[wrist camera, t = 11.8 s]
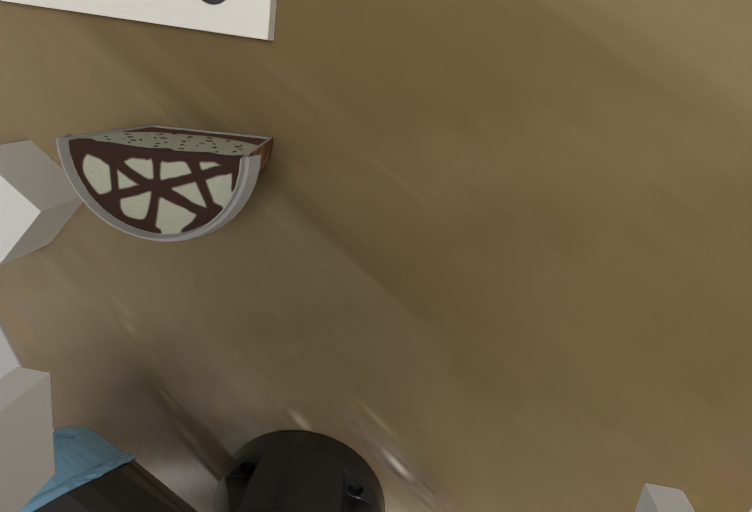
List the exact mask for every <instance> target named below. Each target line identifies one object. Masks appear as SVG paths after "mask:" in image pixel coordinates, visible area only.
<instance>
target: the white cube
mask: <svg viewBox="0 0 752 512" xmlns="http://www.w3.org/2000/svg"><path fill="white" fill-rule="evenodd" d="M82 203H83V201H82V199H81V198H80V197H79V196H78V195H77V193H76V191H75V190H74V188H73V187H72V185H71V184H70V182H69V180H68V178H67V176H66V173H65V171H64V170H63V169H62V168H61V167H59V166H58V165H57V164H56V163H55V162H54V161H53V160H52V159H51V158H50V157H48V156H47V155H46V154H45V153H44V152H43V151H42V150H41V149H40V148H38V147H37V146H36V145H35V144H34V143H33V142H32V141H31V140H26V141H20V142H14V143H9V144H3V145H0V266H1V265H3V264H6V263H8V262H10V261H12V260H15V259H17V258H19V257H21V256H23V255H26V254H28V253H30V252H32V251H35V250H37V249H39V248H41V247H44V246H46V245H48V244H50V243H51V241H52V240H53V239H54V238H55V237H56V235H57V234H58V233H59V232H60V230H61V229H62V228H63V227H64V225H65V224H66V223H67V222H68V221H69V219H70V218H71V217H72V216H73V214H74V213H75V212H76V211H77V209H78V208H79V207H80V206H81V204H82Z"/></svg>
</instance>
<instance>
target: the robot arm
mask: <svg viewBox="0 0 752 512" xmlns="http://www.w3.org/2000/svg"><path fill="white" fill-rule="evenodd" d="M135 459H136V457H135V456H134V455H133V454H125V453H124V452H123V451H121V450H120V449H118V448H117V447H116V446H114V445H113V444H111V443H110V442H109V441H107V440H106V439H105V438H103V437H102V436H100V435H99V434H98V433H96V432H95V431H93V430H91V429H90V428H87V427H83V426H69V427H64V428H61V429H59V430H56V431H54V432H53V424H52V404H51V384H50V373H48V372H42V371H37V370H31V369H26V368H21V367H16V368H15V369H14V370H12V371H11V372H10V373H8V374H7V375H5V376H4V377H3V378H1V379H0V512H197V511H196V510H195V509H194V508H192V507H191V506H190V505H189V504H188V503H186V502H185V501H184V500H183V499H181V498H180V497H179V496H178V495H176V494H175V493H174V492H173V491H171V490H170V489H169V488H168V487H167V486H165V485H164V484H163V483H162V482H160V481H159V480H158V479H157V478H155V477H154V476H153V475H152V474H151V473H149V472H148V471H147V470H146V469H144V468H143V467H142V466H141V465H139V464H138V463H137V462H136V461H134V460H135ZM213 512H385V503H384V496H383V492H382V489H381V486H380V484H379V481H378V480H377V478H376V476H375V474H374V473H373V471H372V470H371V468H370V467H369V466H368V465H367V464H366V462H365V461H364V460H363V459H362V458H361V457H360V456H358V455H357V454H356V453H355V452H353V451H352V450H351V449H349V448H348V447H346V446H345V445H343V444H341V443H339V442H337V441H335V440H333V439H331V438H328V437H325V436H322V435H319V434H315V433H310V432H302V431H283V432H276V433H272V434H268V435H265V436H262V437H259V438H257V439H255V440H253V441H251V442H250V443H248V444H247V445H245V446H244V447H243V448H242V449H240V450H239V451H238V452H237V453H236V454H235V456H234V457H233V458H232V460H231V461H230V463H229V465H228V466H227V468H226V470H225V472H224V474H223V476H222V478H221V480H220V482H219V484H218V487H217V490H216V494H215V499H214V509H213ZM635 512H695V511H694V510H693V508H692V506H691V505H690V503H689V501H688V499H687V498H686V496H685V494H684V492H683V491H682V490H679V489H674V488H669V487H663V486H658V485H652V484H647V483H645V485H644V488H643V491H642V493H641V496H640V499H639V502H638V505H637V507H636V510H635Z"/></svg>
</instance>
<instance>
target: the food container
mask: <svg viewBox="0 0 752 512" xmlns="http://www.w3.org/2000/svg"><path fill="white" fill-rule="evenodd" d="M56 143H57V148H58V154H59V157H60V160H61V163H62V167H63V169H64V171H65V173H66V176H67V178H68V180H69V182H70V184H71V185H72V187H73V188H74V190H75V191H76V193H77V195H78V196H79V197H80V198H81V199H82V201H83V202H84V203H85V204H86V205H87V207H89V208H90V209H91V210H92V211H93V212H94V213H95V214H96V215H97V216H98V217H100V218H101V219H102V220H104V221H105V222H107V223H108V224H110V225H111V226H113V227H115V228H117V229H119V230H121V231H123V232H125V233H128V234H131V235H133V236H136V237H140V238H143V239H148V240H153V241H165V242H172V241H181V240H188V239H193V238H197V237H201V236H204V235H207V234H210V233H212V232H214V231H216V230H218V229H220V228H221V227H223V226H224V225H226V224H227V223H228V222H230V221H231V220H232V219H233V218H234V217H235V216H236V215H237V214H238V213H239V212H240V211H241V210H242V208H243V207H244V205H245V204H246V202H247V201H248V199H249V198H250V196H251V193H252V191H253V189H254V187H255V184H256V181H257V179H258V178H259V177H260V175H261V174H262V172H263V171H264V169H265V168H266V166H267V163H268V161H269V159H270V155H271V151H272V145H273V137H264V136H254V135H245V134H235V133H226V132H216V131H207V130H197V129H188V128H178V127H169V126H159V125H147V126H140V127H133V128H126V129H119V130H112V131H105V132H98V133H90V134H83V135H76V136H71V134H67V135H64V136H60V137H59V138H57V139H56Z"/></svg>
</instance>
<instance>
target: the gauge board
mask: <svg viewBox="0 0 752 512" xmlns="http://www.w3.org/2000/svg"><path fill="white" fill-rule="evenodd" d="M0 1H6V2H13V3H20V4H27V5H33V6H40V7H47V8H54V9H61V10H67V11H74V12H81V13H88V14H94V15H101V16H108V17H115V18H122V19H128V20H135V21H142V22H149V23H156V24H162V25H169V26H176V27H183V28H189V29H196V30H203V31H210V32H217V33H223V34H230V35H237V36H244V37H250V38H257V39H264V40H271V41H274V30H275V17H276V4H277V0H0Z"/></svg>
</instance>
